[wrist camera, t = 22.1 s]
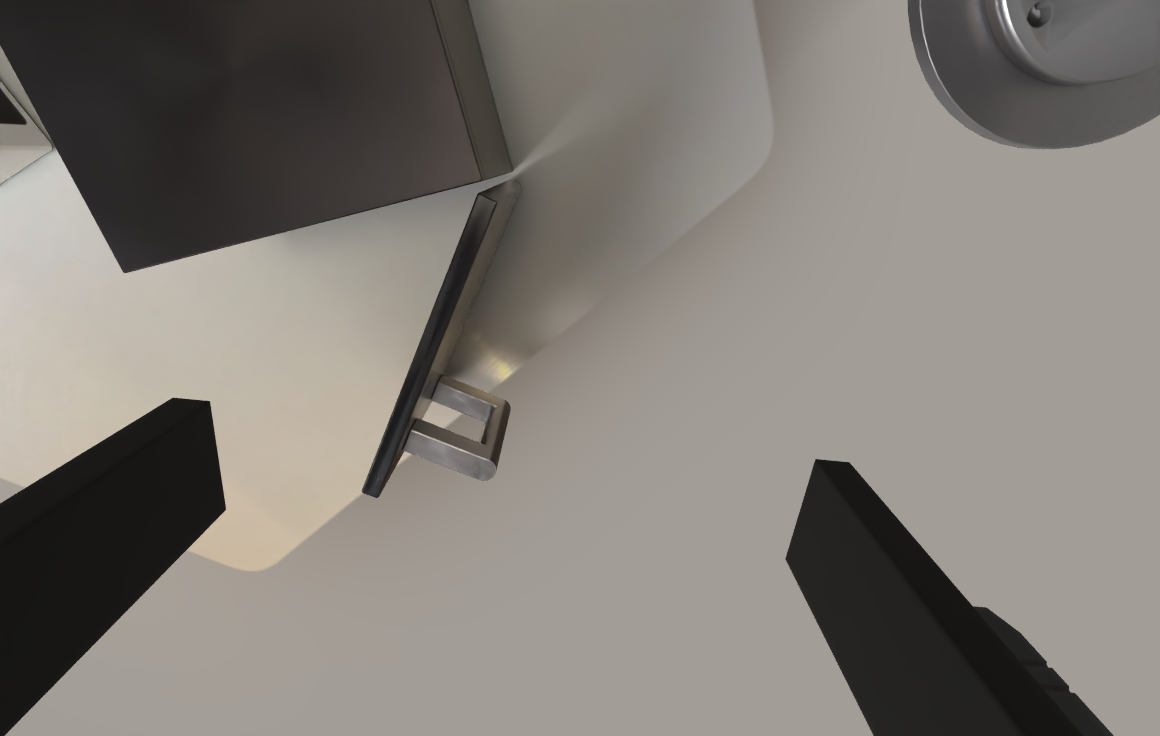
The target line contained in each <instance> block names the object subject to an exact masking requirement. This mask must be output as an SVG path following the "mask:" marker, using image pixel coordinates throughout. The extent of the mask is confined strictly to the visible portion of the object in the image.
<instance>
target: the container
mask: <svg viewBox="0 0 1160 736" xmlns="http://www.w3.org/2000/svg"><path fill="white" fill-rule="evenodd" d="M51 149H52V145H51V143H50V142H49V141H48V140H47V138H46V137H45V136H44V135H43V133H42V132H41V131H40V130H39V128H38V127H37V126H36V125H35V124H34V122H33V121H32V120H31V119H30V117H29V116H28V115H27V114H26V112H25V111H24V110H23V109H22V107H21V106H20V105H19V104H18V102H17V101H16V100H15V99H14V97H13V96H12V95H11V94H10V92H9V91H8V90H7V89H6V87H5V86H4V85H3V84H2V82H1V81H0V184H1V183H2V182H4V181H5V180H7V179H9V178H10V177H12V176H13V175H15V174H16V173H18V172H19V171H21V170H22V169H24V168H25V167H27V166H28V165H30V164H31V163H33V162H34V161H36V160H37V159H39V158H40V157H42V156H43V155H45V154H46V153H48V152H49V151H51Z"/></svg>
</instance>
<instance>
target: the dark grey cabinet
mask: <svg viewBox="0 0 1160 736" xmlns="http://www.w3.org/2000/svg"><path fill="white" fill-rule="evenodd" d="M0 45H1V47H2V49H3V51H4V53H5V55H6V57H7V58H8V60H9V62H10V64H11V66H12V68H13V69H14V71H15V73H16V75H17V77H18V79H19V81H20V82H21V84H22V86H23V88H24V90H25V92H26V93H27V95H28V97H29V99H30V101H31V103H32V105H33V106H34V108H35V110H36V112H37V114H38V116H39V117H40V119H41V121H42V123H43V125H44V127H45V129H46V130H47V132H48V134H49V136H50V138H51V140H52V141H53V143H54V145H55V147H56V149H57V151H58V153H59V154H60V156H61V158H62V160H63V162H64V164H65V165H66V167H67V169H68V171H69V173H70V175H71V177H72V178H73V180H74V182H75V184H76V186H77V188H78V189H79V191H80V193H81V195H82V197H83V199H84V201H85V202H86V204H87V206H88V208H89V210H90V212H91V214H92V215H93V217H94V219H95V221H96V223H97V225H98V226H99V228H100V230H101V232H102V234H103V236H104V238H105V239H106V241H107V243H108V245H109V247H110V249H111V250H112V252H113V254H114V256H115V258H116V260H117V262H118V263H119V265H120V267H121V269H122V271H123V272H124V273H128V272H132V271H136V270H139V269H143V268H147V267H151V266H155V265H159V264H163V263H167V262H170V261H174V260H178V259H182V258H186V257H190V256H194V255H198V254H201V253H205V252H209V251H213V250H217V249H221V248H225V247H229V246H232V245H236V244H240V243H244V242H248V241H252V240H256V239H260V238H263V237H267V236H271V235H275V234H279V233H283V232H287V231H291V230H294V229H298V228H302V227H306V226H310V225H314V224H318V223H321V222H325V221H329V220H333V219H337V218H341V217H345V216H349V215H352V214H356V213H360V212H364V211H368V210H372V209H376V208H380V207H383V206H387V205H391V204H395V203H399V202H403V201H407V200H411V199H414V198H418V197H422V196H426V195H430V194H434V193H438V192H442V191H445V190H449V189H453V188H457V187H461V186H465V185H469V184H473V183H476V182H480V181H484V180H487V179H490V178H493V177H497V176H500V175H503V174H506V173H509V172H512V171H513V168H512V164H511V160H510V157H509V153H508V149H507V145H506V142H505V138H504V134H503V130H502V127H501V123H500V119H499V116H498V112H497V108H496V104H495V101H494V97H493V93H492V89H491V86H490V82H489V78H488V75H487V71H486V67H485V63H484V60H483V56H482V52H481V49H480V45H479V41H478V37H477V34H476V30H475V26H474V22H473V19H472V15H471V11H470V8H469V4H468V0H0Z"/></svg>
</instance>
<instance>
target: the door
mask: <svg viewBox="0 0 1160 736" xmlns="http://www.w3.org/2000/svg"><path fill="white" fill-rule="evenodd" d="M521 188H522V185H521V184H519V183H517V182H515V181H513V180H508V181H505V182H503V183H501V184H499V185H496V186H494V187H492V188H489V189H487V190H485V191H482V192H480V193H478V195H477V197H476V200H475V202H474V205H473V207H472V210H471V212H470V215H469V218H468V220H467V223H466V225H465V228H464V230H463V233H462V235H461V238H460V241H459V243H458V246H457V248H456V251H455V253H454V256H453V259H452V261H451V264H450V266H449V269H448V271H447V274H446V276H445V279H444V282H443V284H442V287H441V289H440V292H439V294H438V297H437V299H436V302H435V305H434V307H433V310H432V312H431V315H430V317H429V320H428V323H427V325H426V328H425V330H424V333H423V335H422V338H421V340H420V343H419V346H418V348H417V351H416V353H415V356H414V358H413V361H412V364H411V366H410V369H409V371H408V374H407V376H406V379H405V381H404V384H403V387H402V389H401V392H400V394H399V397H398V399H397V402H396V404H395V407H394V410H393V412H392V415H391V417H390V420H389V422H388V425H387V428H386V430H385V433H384V435H383V438H382V440H381V443H380V445H379V448H378V451H377V453H376V456H375V458H374V461H373V463H372V466H371V468H370V471H369V474H368V476H367V479H366V481H365V484H364V486H363V489H362V493H364V494H367V495H370V496H373V497H375V498H378V497H379V496H380V494H381V492H382V490H383V488H384V487H385V485H386V483H387V481H388V479H389V478H390V476H391V474H392V472H393V471H394V469H395V467H396V465H397V463H398V462H399V460H400V458H401V456H402V454H403V453H404V451H406V452H408V453H411V454H414V455H416V456H419V457H421V458H424V459H427V460H429V461H432V462H435V463H437V464H440V465H442V466H445V467H448V468H450V469H453V470H455V471H458V472H460V473H463V474H466V475H468V476H471V477H473V478H476V479H479V480H482V481H485V480H489V479H491V478H493V476H494V475H495V474H496V470H497V466H498V461H499V457H500V453H501V448H502V444H503V440H504V435H505V431H506V427H507V422H508V418H509V414H510V405H509V404H508V402H507V401H506V400H503V399H501V398H498V397H496V396H494V395H491V394H489V393H486V392H484V391H482V390H479V389H477V388H474V387H472V386H470V385H467V384H465V383H462V382H460V381H457V380H455V379H453V378H450V377H448V376H445V375H444V373H445V371H446V369H447V366H448V364H449V361H450V359H451V357H452V354H453V352H454V349H455V347H456V345H457V342H458V340H459V337H460V335H461V333H462V330H463V328H464V325H465V323H466V320H467V318H468V316H469V313H470V311H471V308H472V306H473V304H474V301H475V299H476V296H477V294H478V292H479V289H480V287H481V284H482V282H483V280H484V277H485V275H486V272H487V270H488V268H489V265H490V263H491V260H492V258H493V256H494V253H495V251H496V248H497V246H498V243H499V241H500V239H501V236H502V234H503V231H504V229H505V227H506V224H507V222H508V219H509V217H510V215H511V212H512V210H513V207H514V205H515V203H516V200H517V198H518V195H519V193H520V191H521ZM432 401H434V402H437V403H439V404H442V405H444V406H447V407H449V408H452V409H454V410H457V411H459V412H461V413H464V414H466V415H469V416H471V417H474V418H476V419H479V420H481V421H484V422H485V423H484V426H483V429H482V432H481V436H480V439H479V442H476V441H474V440H471V439H469V438H466V437H464V436H461V435H459V434H456V433H454V432H451V431H449V430H446V429H444V428H441V427H439V426H436V425H434V424H431V423H428V422H426V421H423V420H422V418H423V417H424V415H425V413H426V411H427V409H428V408H429V406H430V404H431V402H432Z"/></svg>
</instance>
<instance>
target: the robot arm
mask: <svg viewBox="0 0 1160 736" xmlns="http://www.w3.org/2000/svg"><path fill="white" fill-rule="evenodd" d="M985 6H986V12H987V16H988V19H989V23H990V26H991V29H992V31H993V34H994V36H995V38H996V40H997V42H998V44H999V45H1000V47H1001V48H1002V50H1003V51H1004V53H1005V54H1006V55H1007V56H1008V58H1009V59H1010V60H1011V61H1012V62H1013V63H1014V64H1015V65H1017V66H1018V67H1019V68H1020V69H1021V70H1023V71H1024V72H1026V73H1027V74H1029V75H1031V76H1033V77H1035V78H1037V79H1039V80H1042V81H1045V82H1048V83H1053V84H1058V85H1070V86H1071V85H1086V84H1094V83H1101V82H1108V81H1115V80H1119V79H1124V78H1128V77H1131V76H1134V75H1136V74H1139V73H1142V72H1144V71H1146V70H1149V69H1151V68H1154V67H1156V66H1158V65H1160V0H985ZM225 510H226V506H225V499H224V493H223V486H222V479H221V473H220V466H219V459H218V453H217V446H216V439H215V432H214V426H213V419H212V412H211V406H210V401H201V400H191V399H181V398H172V399H170V400H168V401H167V402H165V403H164V404H162V405H160V406H159V407H157V408H155V409H154V410H152V411H150V412H149V413H147V414H146V415H144V416H142V417H141V418H139V419H137V420H136V421H134V422H133V423H131V424H129V425H128V426H126V427H124V428H123V429H121V430H119V431H118V432H116V433H115V434H113V435H111V436H110V437H108V438H106V439H105V440H103V441H101V442H100V443H98V444H97V445H95V446H93V447H92V448H90V449H88V450H87V451H85V452H84V453H82V454H80V455H79V456H77V457H75V458H74V459H72V460H70V461H69V462H67V463H66V464H64V465H62V466H61V467H59V468H57V469H56V470H54V471H53V472H51V473H49V474H48V475H46V476H44V477H43V478H41V479H39V480H38V481H36V482H35V483H33V484H31V485H30V486H28V487H26V488H25V489H23V490H21V491H20V492H18V493H17V494H15V495H13V496H12V497H10V498H8V499H7V500H5V501H4V502H2V503H0V736H5V735H6V734H7V733H8V731H9V730H10V729H11V728H12V727H13V726H14V725H15V724H16V723H17V722H18V721H19V720H20V719H21V718H22V717H23V716H24V715H25V714H26V713H27V712H28V711H29V710H30V709H31V708H32V707H33V706H34V705H35V704H36V703H37V702H38V701H39V700H40V699H41V698H42V697H43V696H44V695H45V693H47V692H48V691H49V690H50V689H51V688H52V687H53V686H54V684H56V682H57V681H59V679H60V678H61V677H62V676H63V675H64V674H65V673H66V672H67V671H68V670H69V669H70V668H71V667H72V666H73V665H74V664H75V663H76V662H77V661H78V660H79V659H80V658H81V657H82V656H83V655H84V654H85V653H86V652H87V651H88V650H89V649H90V648H91V647H92V646H93V645H94V644H95V643H96V642H97V641H98V640H99V639H100V638H101V637H102V636H103V635H104V634H105V633H106V632H107V630H108V629H109V628H110V627H111V626H112V625H113V624H114V623H115V622H116V621H117V620H118V619H119V618H120V617H121V616H122V615H123V614H124V613H125V612H126V611H127V610H128V609H129V608H130V607H131V606H132V605H133V604H134V603H135V602H136V601H137V600H138V599H139V598H140V597H141V596H142V595H143V594H144V593H145V592H146V591H147V590H148V589H149V588H150V586H152V585H153V584H154V583H155V582H156V581H157V580H158V579H159V577H160V576H161V575H162V574H163V573H164V572H165V571H166V570H167V569H168V568H169V567H170V566H171V565H172V564H173V563H174V562H175V561H176V560H177V559H178V558H179V557H180V556H181V555H182V554H183V553H184V552H185V551H186V550H187V549H188V548H189V547H190V546H191V545H192V544H193V543H194V542H195V541H196V540H197V539H198V538H199V537H200V536H201V535H202V534H203V533H204V532H205V531H206V530H207V529H208V528H209V526H210V525H211V524H212V523H213V522H214V521H215V520H216V519H217V518H218V517H219V516H220V515H221V514H222V513H223V512H224V511H225ZM786 561H787V563H788V565H789V567H790V569H791V571H792V573H793V575H794V577H795V579H796V581H797V583H798V585H799V587H800V589H801V591H802V593H803V595H804V597H805V599H806V601H807V603H808V605H809V607H810V609H811V611H812V613H813V615H814V617H815V619H816V621H817V623H818V625H819V627H820V629H821V631H822V633H823V635H824V637H825V639H826V641H827V643H828V645H829V647H830V649H831V651H832V653H833V655H834V657H835V659H836V661H837V663H838V665H839V667H840V669H841V671H842V673H843V675H844V677H845V679H846V681H847V683H848V685H849V687H850V689H851V691H852V693H853V695H854V697H855V699H856V701H857V703H858V705H859V707H860V709H861V711H862V713H863V715H864V717H865V719H866V721H867V723H868V725H869V727H870V729H871V731H872V733H873V735H874V736H1113V735H1112V733H1111V732H1110V731H1109V730H1108V729H1107V728H1106V727H1105V726H1104V725H1103V723H1102V722H1101V721H1100V720H1099V719H1098V718H1097V717H1096V716H1095V715H1094V714H1093V712H1092V711H1091V710H1090V709H1089V708H1088V707H1087V706H1086V705H1085V704H1084V703H1083V702H1082V700H1081V699H1080V698H1079V697H1078V696H1077V695H1076V694H1075V693H1071V692H1070V691H1069V686H1068V685H1067V684H1066V683H1065V682H1064V681H1063V679H1061V677H1060V676H1059V675H1058V674H1057V673H1056V672H1055V671H1054V670H1053V668H1048V667H1047V664H1046V663H1047V662H1046V661H1045V660H1044V659H1043V658H1042V656H1041V655H1040V654H1039V653H1038V652H1037V651H1036V650H1035V649H1034V647H1033V646H1032V645H1031V644H1030V643H1029V642H1028V641H1027V640H1026V639H1025V638H1024V636H1022V634H1021V633H1020V632H1018V631H1017V630H1016V629H1014V628H1013V627H1012V626H1010V625H1009V624H1008V623H1006V622H1005V621H1004V620H1002V619H1001V618H1000V617H998V616H997V615H996V614H994V613H993V612H992V611H990V610H989V609H988V608H985V607H973V606H972V605H971V604H970V603H969V602H968V600H967V599H966V598H965V597H964V596H963V595H962V593H961V592H960V591H959V590H958V589H957V588H956V586H954V584H953V583H952V582H951V581H950V579H949V578H948V577H947V576H946V575H945V574H944V572H943V571H942V570H941V569H940V568H939V567H938V565H937V564H936V563H935V562H934V561H933V560H932V558H931V557H930V556H929V555H928V554H927V553H926V551H925V550H924V549H923V548H922V547H921V545H920V544H919V543H918V542H917V541H916V540H915V539H914V537H913V536H912V535H911V534H910V533H909V532H908V530H907V529H906V528H905V527H904V526H903V524H901V522H900V521H899V520H898V519H897V517H896V516H895V515H894V514H893V513H892V512H891V510H889V508H888V507H887V506H886V505H885V503H884V502H883V501H882V500H881V499H880V498H879V496H878V495H877V494H876V493H875V492H874V491H873V490H872V488H871V487H870V486H869V485H868V484H867V482H866V481H865V480H864V479H863V478H862V477H861V475H860V474H859V473H858V472H857V471H856V470H855V468H854V467H853V466H852V465H851V464H850V463H849V462H839V461H828V460H818V459H816V460H815V463H814V466H813V470H812V473H811V476H810V480H809V483H808V486H807V489H806V493H805V496H804V499H803V503H802V506H801V509H800V513H799V516H798V519H797V523H796V526H795V529H794V532H793V536H792V539H791V542H790V546H789V549H788V552H787V556H786Z"/></svg>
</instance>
